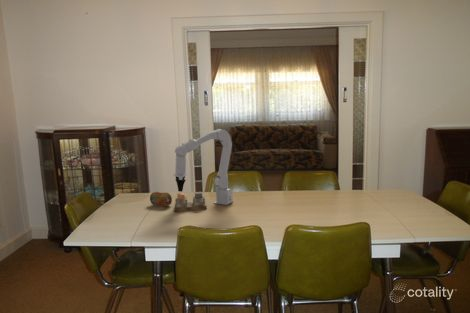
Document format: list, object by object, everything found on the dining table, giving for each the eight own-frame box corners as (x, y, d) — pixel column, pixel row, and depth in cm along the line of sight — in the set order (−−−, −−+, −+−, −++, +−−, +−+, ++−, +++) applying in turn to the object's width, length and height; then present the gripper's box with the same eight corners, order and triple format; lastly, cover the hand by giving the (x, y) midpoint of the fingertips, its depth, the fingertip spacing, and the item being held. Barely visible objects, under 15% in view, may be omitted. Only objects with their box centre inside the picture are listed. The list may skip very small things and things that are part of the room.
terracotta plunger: (184, 199, 208) (184, 193, 208) (184, 201, 204) (184, 194, 204) (177, 200, 208) (177, 193, 207) (177, 202, 204) (177, 195, 203)
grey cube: (202, 198, 209) (201, 191, 209) (202, 200, 206) (201, 193, 205) (195, 198, 209) (194, 192, 208) (195, 200, 205) (195, 193, 204)
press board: (205, 204, 213) (204, 194, 212) (206, 209, 204) (206, 198, 203) (175, 206, 211) (174, 197, 210) (174, 211, 201) (174, 201, 200)
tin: (150, 205, 217) (148, 191, 216) (153, 203, 220) (152, 190, 219) (169, 207, 210) (168, 193, 209) (173, 206, 213) (172, 192, 212)
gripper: (173, 164, 211) (173, 187, 212) (173, 168, 197) (173, 192, 198) (185, 164, 212) (185, 187, 214) (186, 168, 198) (185, 192, 199)
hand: (180, 189), depth 206 cm, fingers open, 7 cm apart
